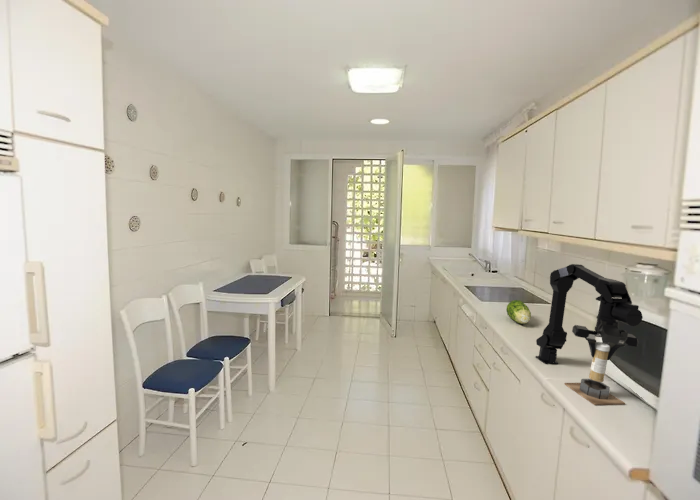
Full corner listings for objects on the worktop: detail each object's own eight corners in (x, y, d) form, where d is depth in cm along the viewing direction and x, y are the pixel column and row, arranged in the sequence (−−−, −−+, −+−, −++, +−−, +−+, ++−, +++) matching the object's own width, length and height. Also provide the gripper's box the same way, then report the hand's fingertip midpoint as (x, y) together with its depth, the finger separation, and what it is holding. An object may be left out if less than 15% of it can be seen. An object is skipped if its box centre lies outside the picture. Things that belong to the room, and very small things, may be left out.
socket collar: (574, 386, 137) (575, 378, 136) (594, 386, 138) (595, 378, 138) (593, 399, 128) (594, 391, 128) (614, 398, 130) (615, 390, 129)
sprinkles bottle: (590, 375, 136) (596, 340, 135) (604, 380, 133) (611, 344, 132) (587, 379, 133) (593, 343, 131) (602, 384, 130) (609, 347, 128)
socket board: (564, 384, 139) (564, 382, 139) (592, 383, 141) (592, 382, 141) (594, 405, 125) (595, 403, 125) (624, 404, 127) (625, 402, 127)
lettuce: (512, 327, 202) (515, 307, 200) (503, 315, 222) (505, 297, 221) (534, 329, 200) (538, 309, 199) (523, 318, 220) (526, 299, 219)
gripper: (583, 317, 125) (575, 361, 128) (649, 328, 120) (640, 373, 122) (575, 309, 136) (568, 350, 138) (635, 318, 130) (627, 360, 132)
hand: (600, 358), depth 132 cm, fingers closed on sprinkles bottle, 4 cm apart
